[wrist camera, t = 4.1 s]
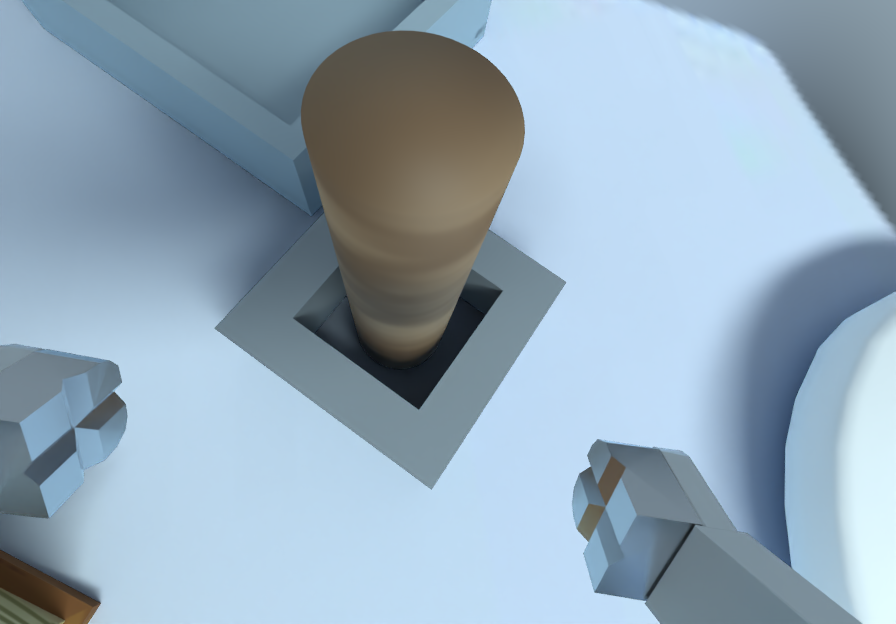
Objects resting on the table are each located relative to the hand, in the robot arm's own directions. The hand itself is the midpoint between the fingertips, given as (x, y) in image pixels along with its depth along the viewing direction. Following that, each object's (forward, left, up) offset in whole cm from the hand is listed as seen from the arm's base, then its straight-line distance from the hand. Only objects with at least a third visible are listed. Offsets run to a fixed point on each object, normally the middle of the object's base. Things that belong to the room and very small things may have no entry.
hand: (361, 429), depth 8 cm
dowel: (-2, +5, -12) cm, 14 cm away
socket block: (-2, +5, -12) cm, 14 cm away
